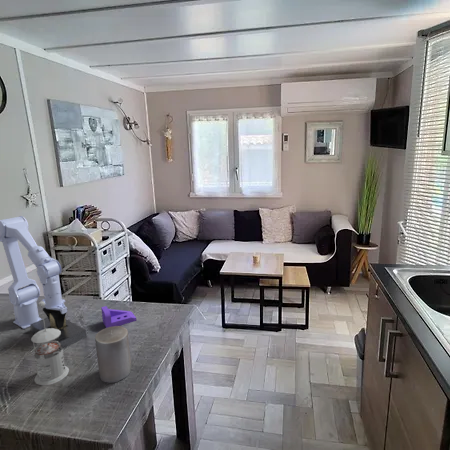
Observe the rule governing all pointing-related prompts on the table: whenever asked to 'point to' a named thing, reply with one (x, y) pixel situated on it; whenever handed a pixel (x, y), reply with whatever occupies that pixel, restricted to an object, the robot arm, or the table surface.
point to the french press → (48, 355)
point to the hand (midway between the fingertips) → (57, 325)
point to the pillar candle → (113, 354)
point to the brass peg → (53, 324)
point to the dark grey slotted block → (62, 332)
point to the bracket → (116, 317)
